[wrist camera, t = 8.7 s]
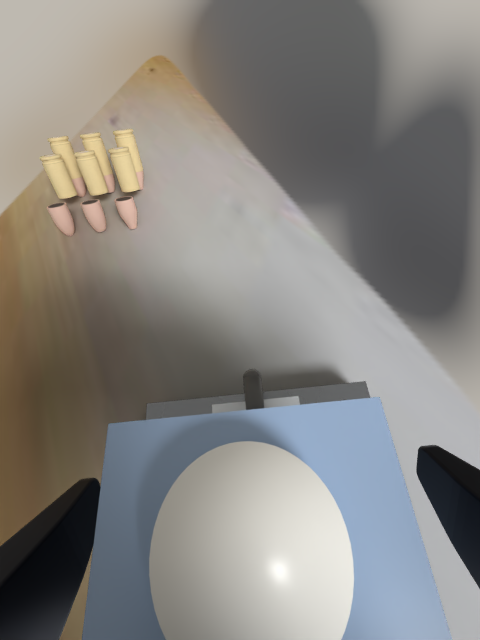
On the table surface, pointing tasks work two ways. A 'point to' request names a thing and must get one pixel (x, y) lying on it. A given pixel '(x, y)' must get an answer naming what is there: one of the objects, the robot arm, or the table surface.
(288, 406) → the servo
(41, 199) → the table surface
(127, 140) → the ammunition
